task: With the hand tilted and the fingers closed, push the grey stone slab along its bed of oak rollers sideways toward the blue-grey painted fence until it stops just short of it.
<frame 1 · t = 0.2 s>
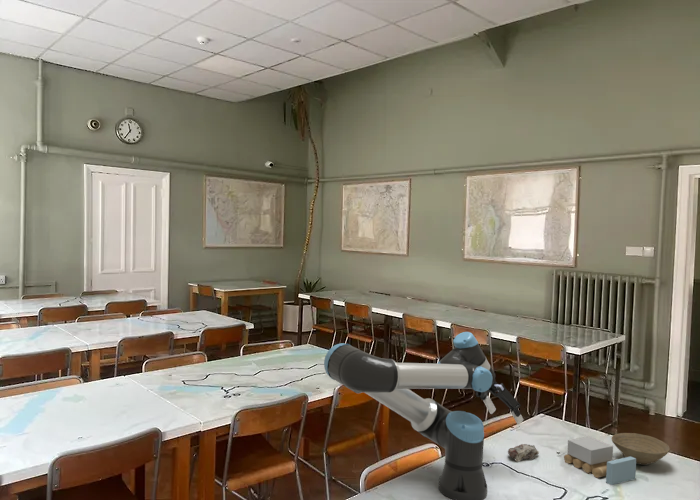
hand: (506, 416, 186), 16 cm above the table, tool tilted 35°, fingers open, 13 cm apart
slab: (589, 449, 184), point 6 cm above the table, slide at 0.0 cm
fence: (620, 480, 173), on the table
bowl: (638, 463, 188), on the table
roller bed: (592, 467, 183), on the table
mineral rock: (523, 457, 190), on the table
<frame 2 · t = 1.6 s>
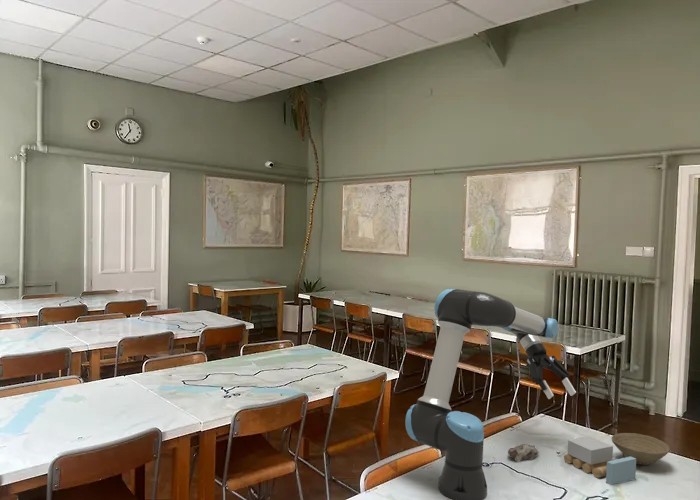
hand: (562, 395, 196), 22 cm above the table, tool tilted 45°, fingers open, 11 cm apart
nothing on the table moved.
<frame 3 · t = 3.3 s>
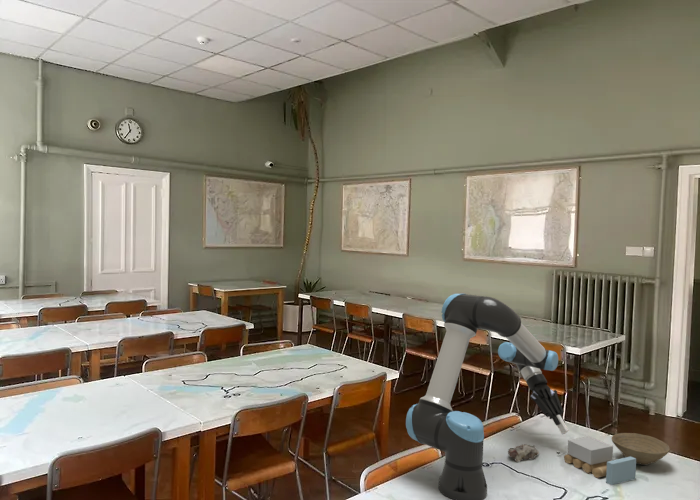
hand: (565, 432, 195), 8 cm above the table, tool tilted 45°, fingers closed
nothing on the table moved.
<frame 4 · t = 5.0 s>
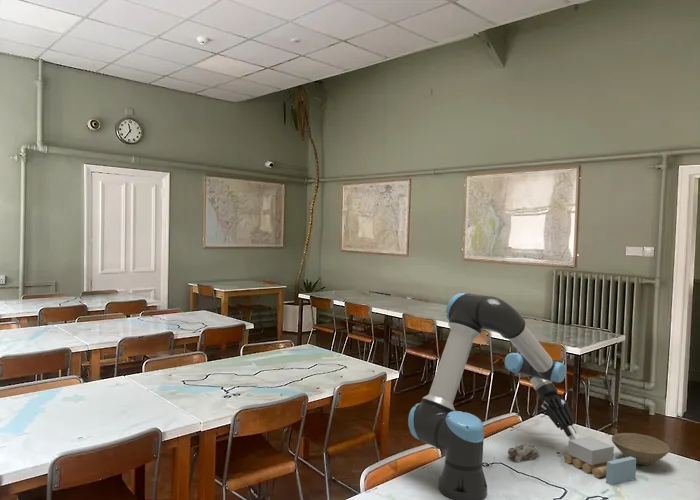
hand: (577, 443, 190), 6 cm above the table, tool tilted 45°, fingers closed
slab: (590, 450, 184), point 6 cm above the table, slide at 0.3 cm, touching gripper
everything else where it was.
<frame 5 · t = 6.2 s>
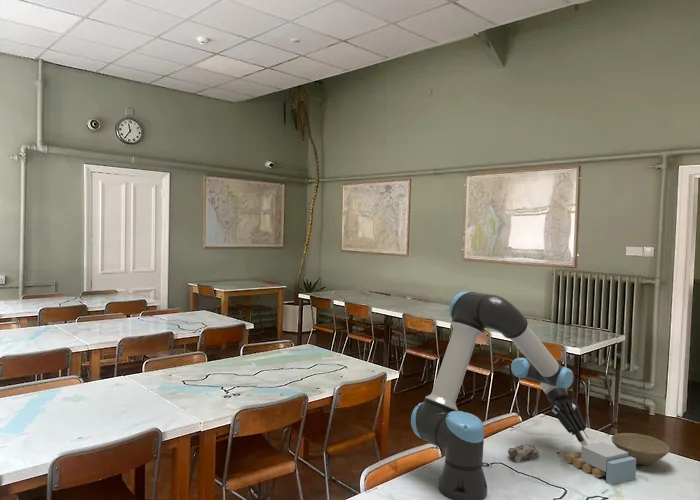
hand: (589, 449, 185), 6 cm above the table, tool tilted 45°, fingers closed
slab: (604, 456, 179), point 6 cm above the table, slide at 5.9 cm, touching gripper
everything else where it was.
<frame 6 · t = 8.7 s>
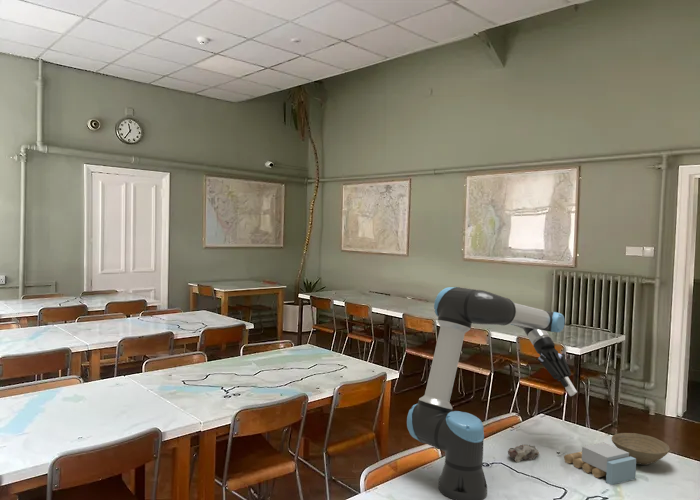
hand: (573, 394, 191), 24 cm above the table, tool tilted 45°, fingers closed
slab: (605, 456, 179), point 6 cm above the table, slide at 6.2 cm
everything else where it was.
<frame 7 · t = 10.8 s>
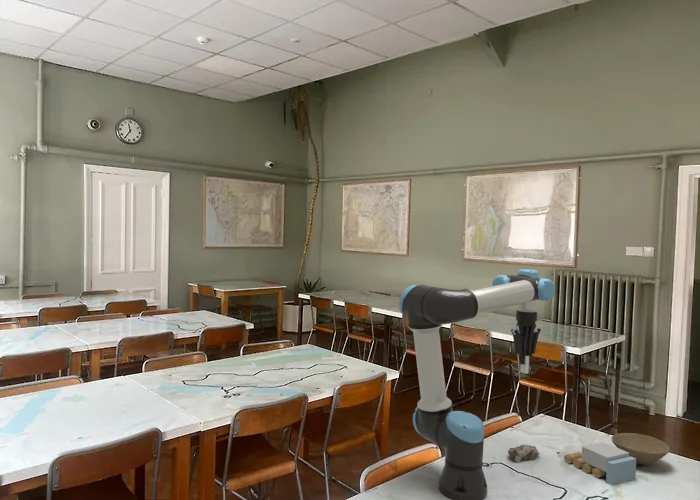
hand: (524, 372, 194), 30 cm above the table, tool pointing down, fingers closed
nothing on the table moved.
at the end: slab slide at 6.2 cm; slab inside the target area (0.4 cm from its centre), point 5.7 cm above the table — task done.
